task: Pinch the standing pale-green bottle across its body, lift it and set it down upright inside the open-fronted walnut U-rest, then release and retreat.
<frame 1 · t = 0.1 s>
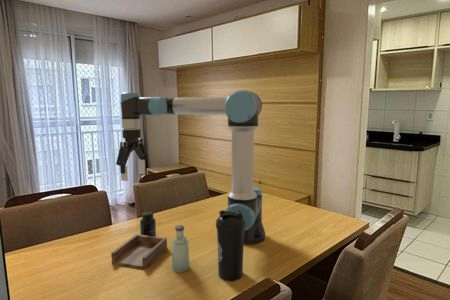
hand: (133, 177, 132), 28 cm above the table, fingers open, 13 cm apart
supplement bottle: (148, 239, 135), on the table
u rest: (140, 255, 119), on the table
bottle: (180, 267, 110), on the table
water bottle: (230, 274, 106), on the table
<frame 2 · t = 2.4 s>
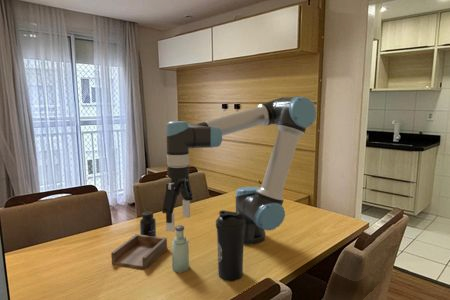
hand: (178, 223, 108), 17 cm above the table, fingers open, 13 cm apart
nothing on the table moved.
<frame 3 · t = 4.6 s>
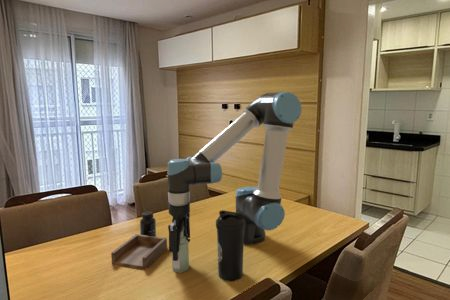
hand: (180, 262, 110), 2 cm above the table, fingers closed on bottle, 6 cm apart
bottle: (180, 267, 110), on the table, touching gripper
everything else where it was.
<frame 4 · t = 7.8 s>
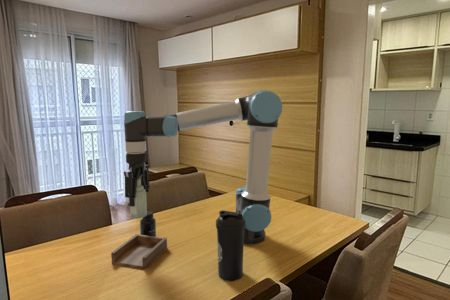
hand: (138, 210, 116), 19 cm above the table, fingers closed on bottle, 6 cm apart
bottle: (138, 215, 117), point 17 cm above the table, touching gripper
everything else where it was.
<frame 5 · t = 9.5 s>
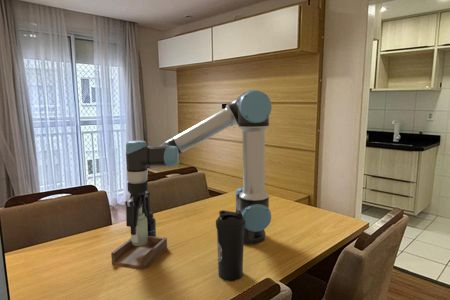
hand: (139, 237, 118), 7 cm above the table, fingers closed on bottle, 6 cm apart
bottle: (139, 242, 118), point 6 cm above the table, touching gripper
everything else where it was.
when the fingers open (4 cm above the table, at t = 11.0 s): bottle drops 1 cm, resting on u rest.
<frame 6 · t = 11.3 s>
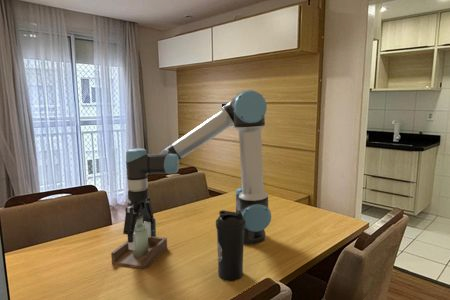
hand: (140, 242, 118), 5 cm above the table, fingers open, 10 cm apart
bottle: (140, 253, 119), point 1 cm above the table, touching u rest
everything else where it was.
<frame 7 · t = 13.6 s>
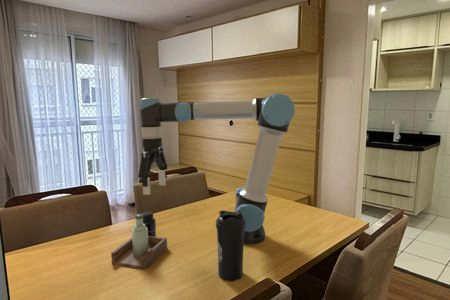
hand: (155, 189, 122), 25 cm above the table, fingers open, 13 cm apart
nothing on the table moved.
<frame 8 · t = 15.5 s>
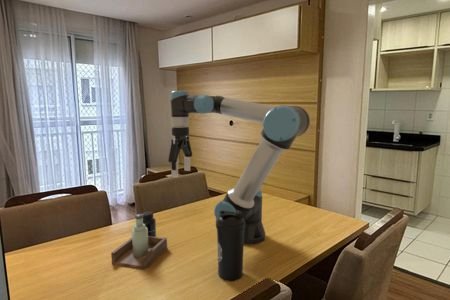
hand: (181, 173, 135), 29 cm above the table, fingers open, 13 cm apart
nothing on the table moved.
at the end: bottle inside the target area on the u rest (0.5 cm from its centre), point 1.0 cm above the u rest's base; bottle tilted 0°; the gripper is holding nothing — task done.
